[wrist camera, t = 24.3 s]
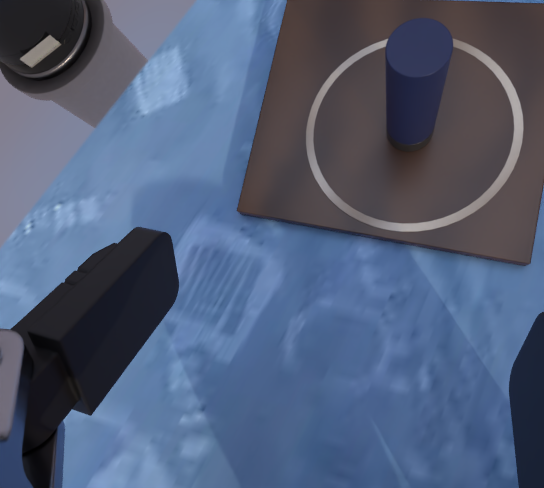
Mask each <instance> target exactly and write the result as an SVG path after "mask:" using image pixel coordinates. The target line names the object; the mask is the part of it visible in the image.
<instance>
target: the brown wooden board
mask: <svg viewBox="0 0 544 488" xmlns="http://www.w3.org/2000/svg"><path fill="white" fill-rule="evenodd" d="M416 18H430V19H434V20H436V21H439V22H440V23H442V24H443V25H444V26H446V27H447V29H448V30H449V32H450V33H451V36H452V38H453V51H452V55H451V60H450V64H449V68H448V72H447V77H446V81H445V85H444V89H443V93H442V98H441V102H440V106H439V110H438V114H437V119H436V123H435V127H434V131H433V135H432V138H431V139H430V141H429V142H428V144H427V145H425V146H424V147H423V148H421V149H419V150H416V151H412V152H405V151H401V150H398V149H396V148H395V147H394V146H392V145H391V143H390V142H389V140H388V138H387V131H386V66H385V48H386V44H387V41H388V39H389V37H390V35H391V34H392V33H393V31H394V30H395V29H396V28H397V27H399V26H400V25H401V24H403V23H405V22H407V21H409V20H412V19H416ZM543 185H544V3H512V2H479V1H447V0H287V3H286V8H285V12H284V16H283V20H282V24H281V28H280V33H279V37H278V41H277V45H276V49H275V53H274V58H273V62H272V66H271V70H270V74H269V79H268V83H267V87H266V91H265V95H264V99H263V104H262V108H261V112H260V116H259V120H258V124H257V129H256V133H255V137H254V141H253V145H252V149H251V154H250V158H249V162H248V166H247V170H246V175H245V179H244V183H243V187H242V191H241V195H240V200H239V204H238V208H237V211H238V212H239V213H240V214H243V215H248V216H254V217H259V218H265V219H270V220H276V221H281V222H286V223H292V224H297V225H303V226H308V227H314V228H319V229H325V230H330V231H336V232H341V233H347V234H352V235H358V236H363V237H369V238H374V239H380V240H385V241H391V242H396V243H402V244H407V245H413V246H418V247H424V248H429V249H435V250H440V251H446V252H451V253H457V254H462V255H468V256H473V257H479V258H484V259H490V260H495V261H501V262H506V263H512V264H517V265H523V266H526V265H528V264H530V262H531V256H532V250H533V244H534V238H535V232H536V226H537V220H538V214H539V209H540V203H541V197H542V191H543Z"/></svg>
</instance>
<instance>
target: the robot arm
mask: <svg viewBox="0 0 544 488" xmlns="http://www.w3.org/2000/svg"><path fill="white" fill-rule="evenodd" d="M91 27H92V17H91V12H90V8H89V6H88V4H87V2H86V1H85V0H0V61H1V62H3V63H4V64H6V65H7V66H8V67H9V68H10V69H12V70H13V71H14V72H16V73H18V74H19V75H21V76H22V77H24V78H26V79H29V80H35V81H41V80H47V79H51V78H54V77H56V76H58V75H60V74H62V73H63V72H65V71H66V70H67V69H69V68H70V67H71V66H72V65H73V64H74V63H75V62H76V61H77V60H78V58H79V57H80V56H81V54H82V52H83V51H84V49H85V47H86V45H87V43H88V40H89V37H90V33H91ZM178 289H179V279H178V273H177V267H176V262H175V256H174V250H173V244H172V239H171V236H170V235H169V234H168V233H166V232H161V231H156V230H152V229H147V228H142V227H136V228H134V229H133V230H132V231H131V232H130V233H128V234H127V235H126V236H125V237H124V238H123V239H122V240H121V241H120V242H119V243H118V244H117V243H113V244H111V245H109V246H107V247H105V248H103V249H101V250H99V251H98V252H96V253H94V254H92V255H91V256H90V257H89V258H88V259H87V260H86V261H85V262H84V263H83V264H82V265H80V266H79V267H78V270H77V271H74V272H73V273H72V274H71V275H69V276H68V277H67V278H66V279H65V282H64V283H61V284H60V285H59V286H57V287H56V288H55V289H54V290H53V291H52V292H51V293H50V294H49V295H48V296H47V297H45V298H44V299H43V300H42V301H41V302H40V303H39V304H38V305H37V306H36V307H35V308H33V309H32V310H31V311H30V312H29V313H28V314H27V315H26V316H25V317H24V318H23V319H21V320H20V321H19V322H18V323H17V324H16V325H15V326H14V327H13V328H11V329H10V330H9V329H0V488H62V481H63V460H64V440H65V425H64V421H63V420H64V418H65V417H66V416H67V415H68V413H69V412H70V411H71V409H73V410H76V411H79V412H82V413H85V414H88V415H90V416H91V415H92V414H93V412H94V411H95V410H96V408H97V407H98V406H99V404H100V403H101V402H102V400H103V399H104V398H105V396H106V395H107V393H108V392H109V391H110V389H111V388H112V387H113V385H114V384H115V383H116V381H117V380H118V379H119V377H120V376H121V375H122V373H123V372H124V371H125V369H126V368H127V366H128V365H129V364H130V362H131V361H132V360H133V358H134V357H135V356H136V354H137V353H138V352H139V350H140V349H141V348H142V346H143V345H144V344H145V342H146V341H147V339H148V338H149V337H150V335H151V334H152V333H153V331H154V330H155V329H156V327H157V326H158V325H159V323H160V322H161V321H162V319H163V318H164V317H165V315H166V314H167V312H168V311H169V310H170V308H171V307H172V306H173V304H174V302H175V300H176V297H177V294H178ZM509 397H510V407H511V416H512V426H513V435H514V445H515V455H516V464H517V474H518V484H519V488H544V312H542V313H540V314H539V315H538V316H537V318H536V320H535V322H534V324H533V326H532V328H531V330H530V332H529V334H528V336H527V338H526V340H525V342H524V344H523V346H522V348H521V350H520V352H519V354H518V356H517V358H516V360H515V362H514V364H513V367H512V370H511V375H510V382H509Z"/></svg>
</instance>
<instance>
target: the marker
mask: <svg viewBox="0 0 544 488" xmlns="http://www.w3.org/2000/svg"><path fill="white" fill-rule="evenodd" d="M452 51H453V38H452V36H451V33H450V32H449V30H448V29H447V27H446V26H444V25H443V24H442V23H440V22H439V21H436V20H434V19H430V18H416V19H412V20H409V21H407V22H405V23H403V24H401V25H400V26H399V27H397V28H396V29H395V30H394V31H393V33H392V34H391V35H390V37H389V39H388V41H387V44H386V48H385V66H386V131H387V138H388V140H389V142H390V143H391V145H392V146H394V147H395V148H396V149H398V150H401V151H405V152H412V151H416V150H419V149H421V148H423V147H424V146H425V145H427V144H428V142H429V141H430V139H431V138H432V135H433V131H434V127H435V123H436V119H437V114H438V110H439V106H440V102H441V98H442V93H443V89H444V85H445V81H446V77H447V72H448V68H449V64H450V60H451V55H452Z"/></svg>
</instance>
